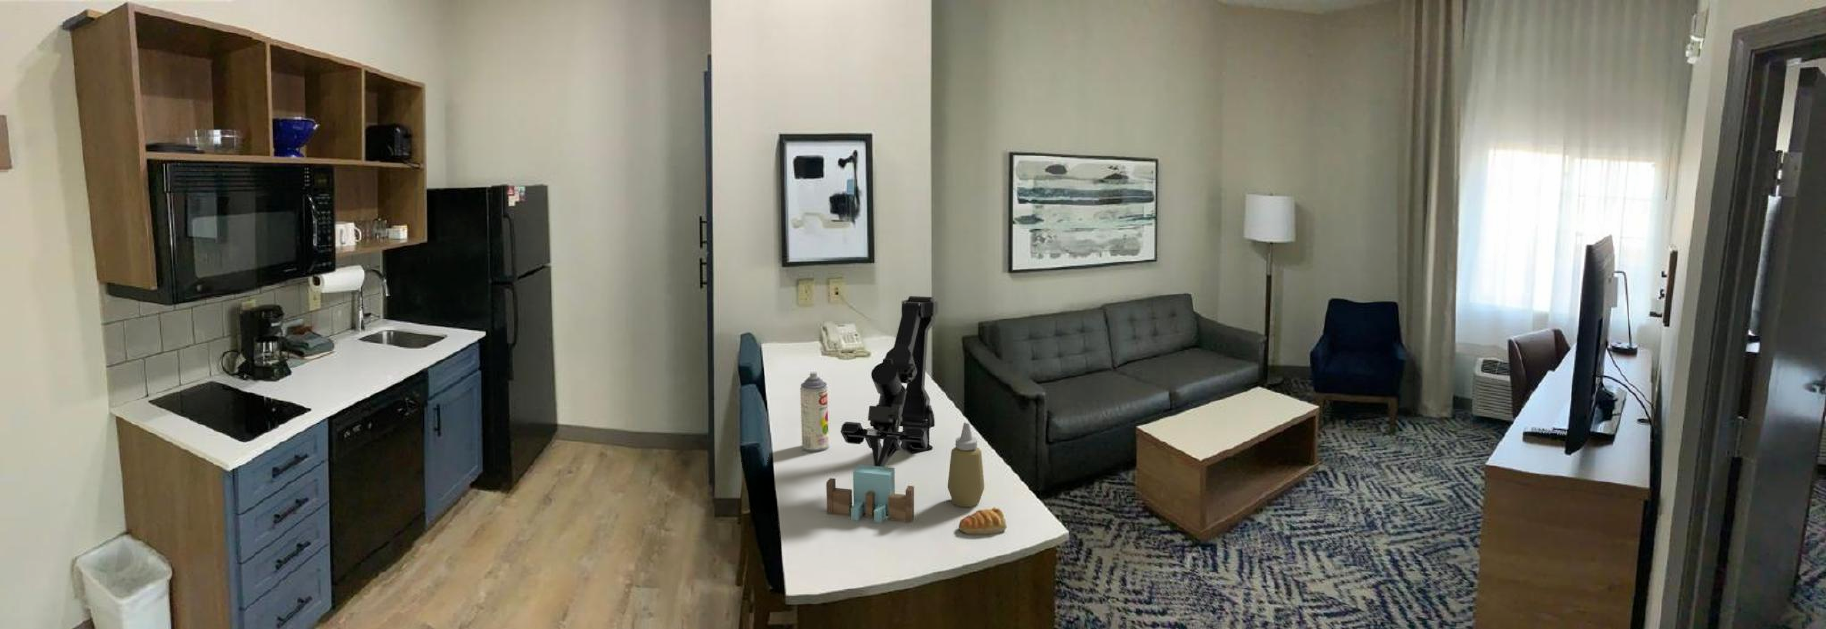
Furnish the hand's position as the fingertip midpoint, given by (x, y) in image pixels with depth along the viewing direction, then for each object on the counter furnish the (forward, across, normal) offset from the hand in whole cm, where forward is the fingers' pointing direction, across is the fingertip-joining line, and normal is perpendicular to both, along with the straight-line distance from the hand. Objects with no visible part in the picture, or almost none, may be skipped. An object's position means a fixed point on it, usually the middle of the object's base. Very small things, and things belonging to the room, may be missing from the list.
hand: (877, 471), depth 176 cm
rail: (+9, 0, +2) cm, 9 cm away
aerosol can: (-16, -26, +27) cm, 40 cm away
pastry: (+10, +24, +2) cm, 26 cm away
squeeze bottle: (+1, +18, +10) cm, 21 cm away
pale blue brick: (+8, 0, +3) cm, 9 cm away
